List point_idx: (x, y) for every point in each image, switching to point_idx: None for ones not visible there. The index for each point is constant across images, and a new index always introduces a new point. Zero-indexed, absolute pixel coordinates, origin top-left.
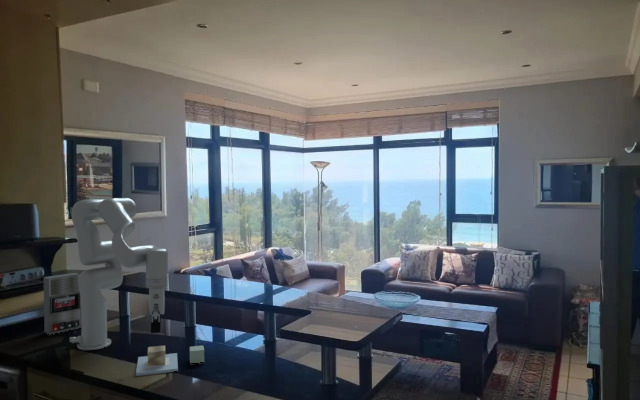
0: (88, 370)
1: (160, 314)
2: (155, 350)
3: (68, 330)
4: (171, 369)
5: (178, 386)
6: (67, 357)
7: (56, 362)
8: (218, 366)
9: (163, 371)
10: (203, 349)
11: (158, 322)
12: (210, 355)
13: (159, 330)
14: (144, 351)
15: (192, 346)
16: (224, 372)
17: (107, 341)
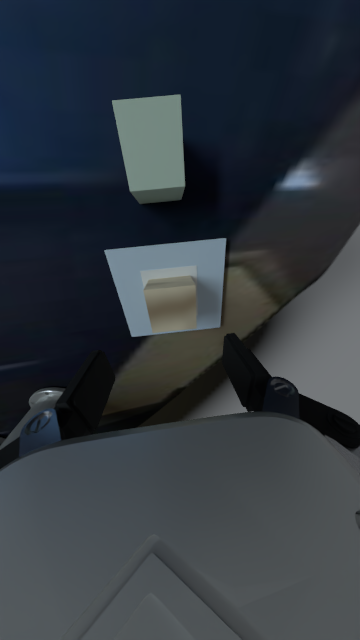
0: (173, 385)
1: (71, 397)
2: (184, 312)
3: (5, 439)
4: (224, 256)
5: (315, 230)
6: (119, 413)
7: (137, 417)
8: (230, 51)
9: (222, 275)
10: (175, 100)
11: (261, 378)
12: (99, 97)
13: (237, 340)
14: (82, 330)
15: (127, 175)
16: (305, 13)
17: (49, 395)
